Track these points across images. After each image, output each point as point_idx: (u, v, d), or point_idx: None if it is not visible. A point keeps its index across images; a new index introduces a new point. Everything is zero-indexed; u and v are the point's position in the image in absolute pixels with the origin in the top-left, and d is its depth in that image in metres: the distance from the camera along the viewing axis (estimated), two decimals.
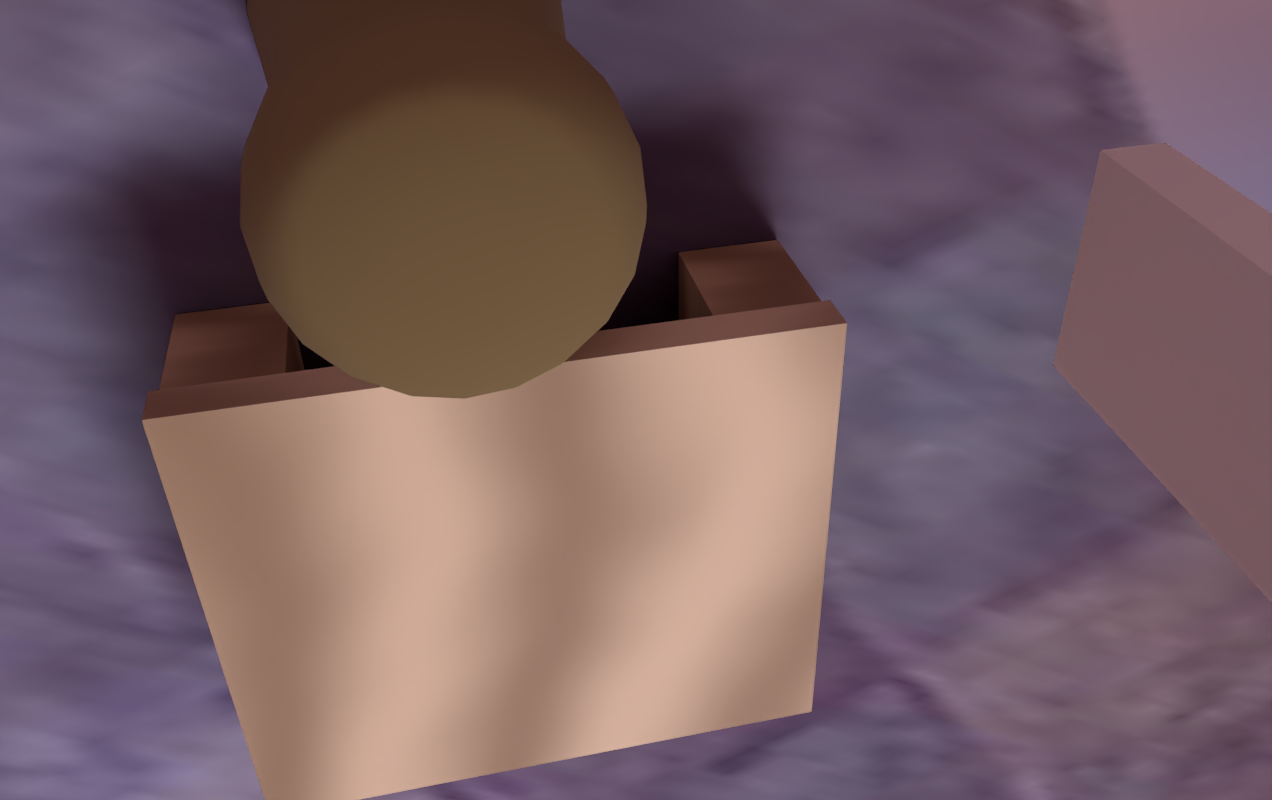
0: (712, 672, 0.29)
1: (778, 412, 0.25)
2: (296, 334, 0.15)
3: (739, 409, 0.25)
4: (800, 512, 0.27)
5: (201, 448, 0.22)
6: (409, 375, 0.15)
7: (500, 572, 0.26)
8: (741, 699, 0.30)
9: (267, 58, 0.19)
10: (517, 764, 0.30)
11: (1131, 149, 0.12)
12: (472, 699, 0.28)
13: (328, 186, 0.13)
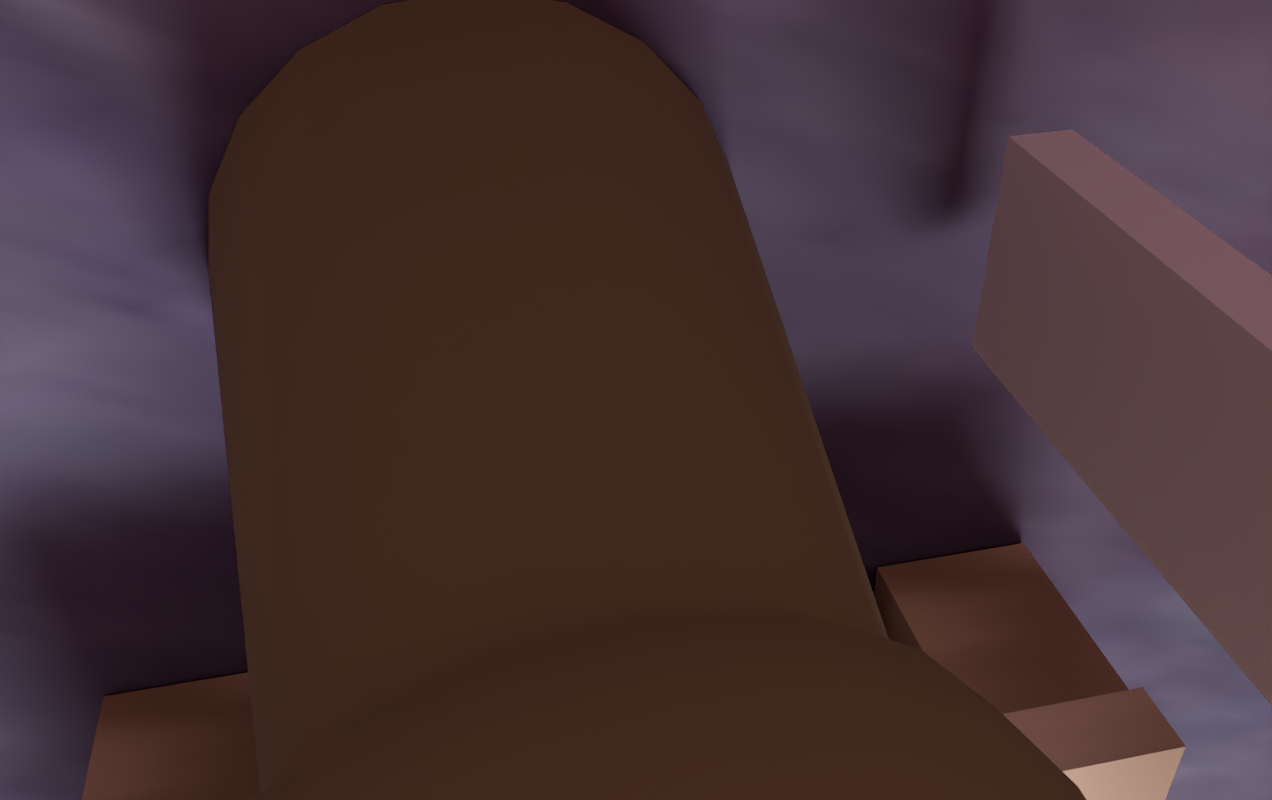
0: None
1: None
2: None
3: None
4: None
5: None
6: None
7: None
8: None
9: (231, 463, 0.09)
10: None
11: (1038, 134, 0.13)
12: None
13: None
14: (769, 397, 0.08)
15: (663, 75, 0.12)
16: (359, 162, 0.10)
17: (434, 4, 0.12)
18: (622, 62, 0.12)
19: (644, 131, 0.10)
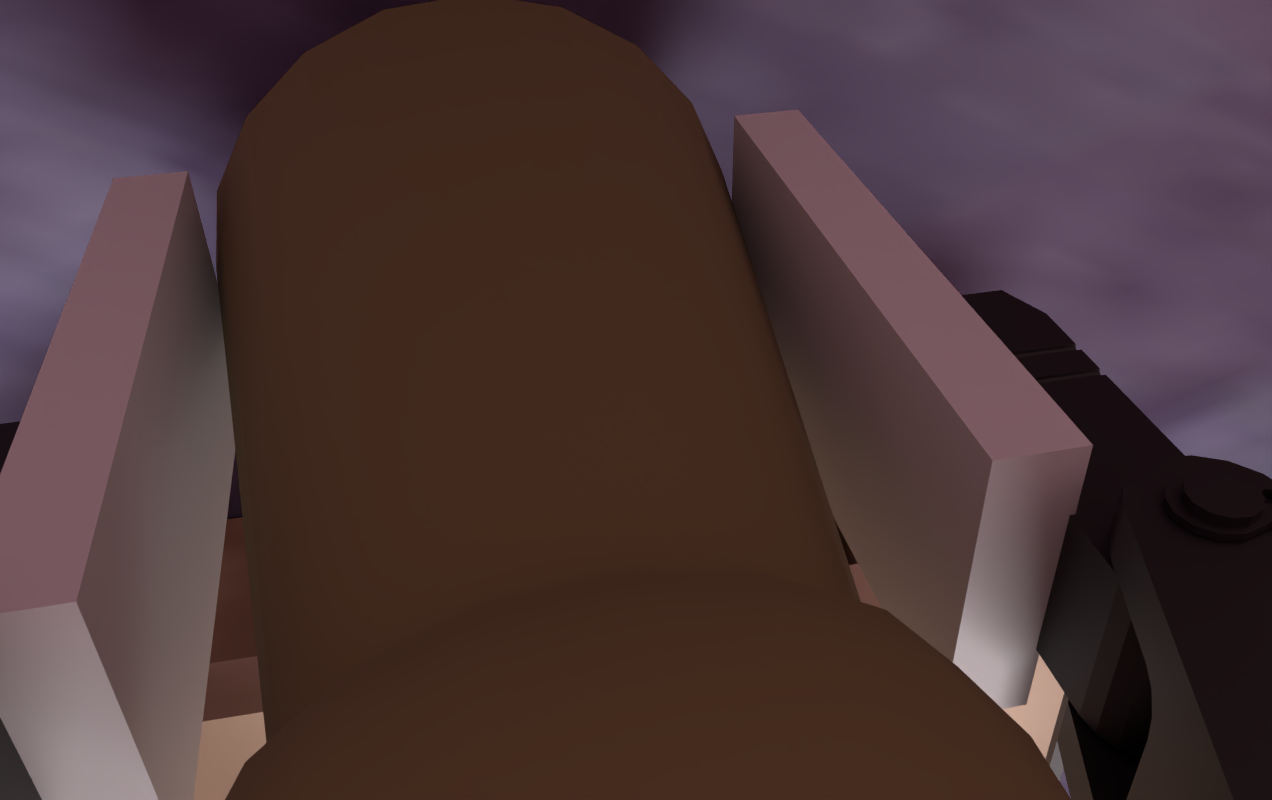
0: None
1: None
2: None
3: None
4: None
5: None
6: None
7: None
8: None
9: (239, 447, 0.10)
10: None
11: (762, 115, 0.13)
12: None
13: None
14: (750, 381, 0.09)
15: (655, 77, 0.13)
16: (361, 160, 0.10)
17: (434, 9, 0.12)
18: (615, 65, 0.12)
19: (636, 132, 0.11)
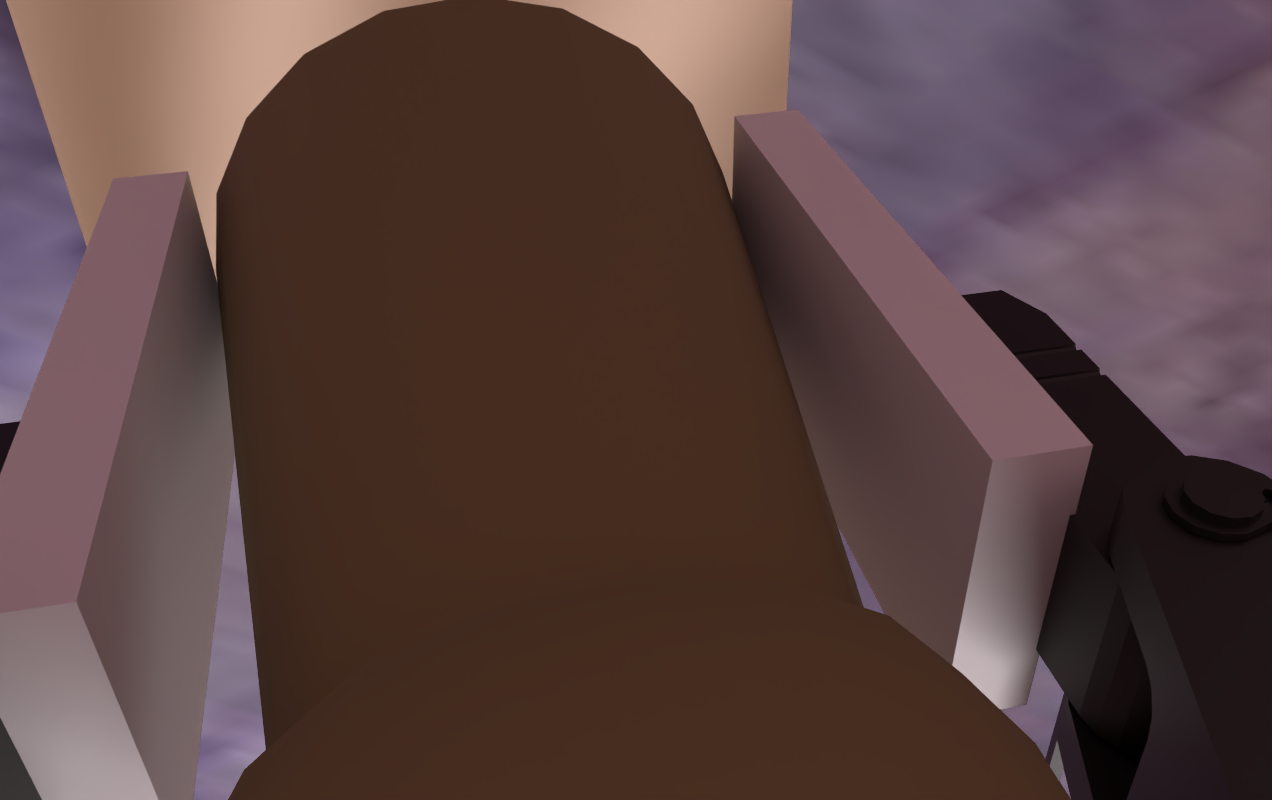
0: None
1: None
2: None
3: None
4: None
5: None
6: None
7: None
8: None
9: (239, 450, 0.10)
10: None
11: (762, 114, 0.13)
12: None
13: None
14: (752, 383, 0.09)
15: (656, 79, 0.13)
16: (362, 161, 0.10)
17: (434, 10, 0.12)
18: (616, 66, 0.12)
19: (636, 133, 0.11)
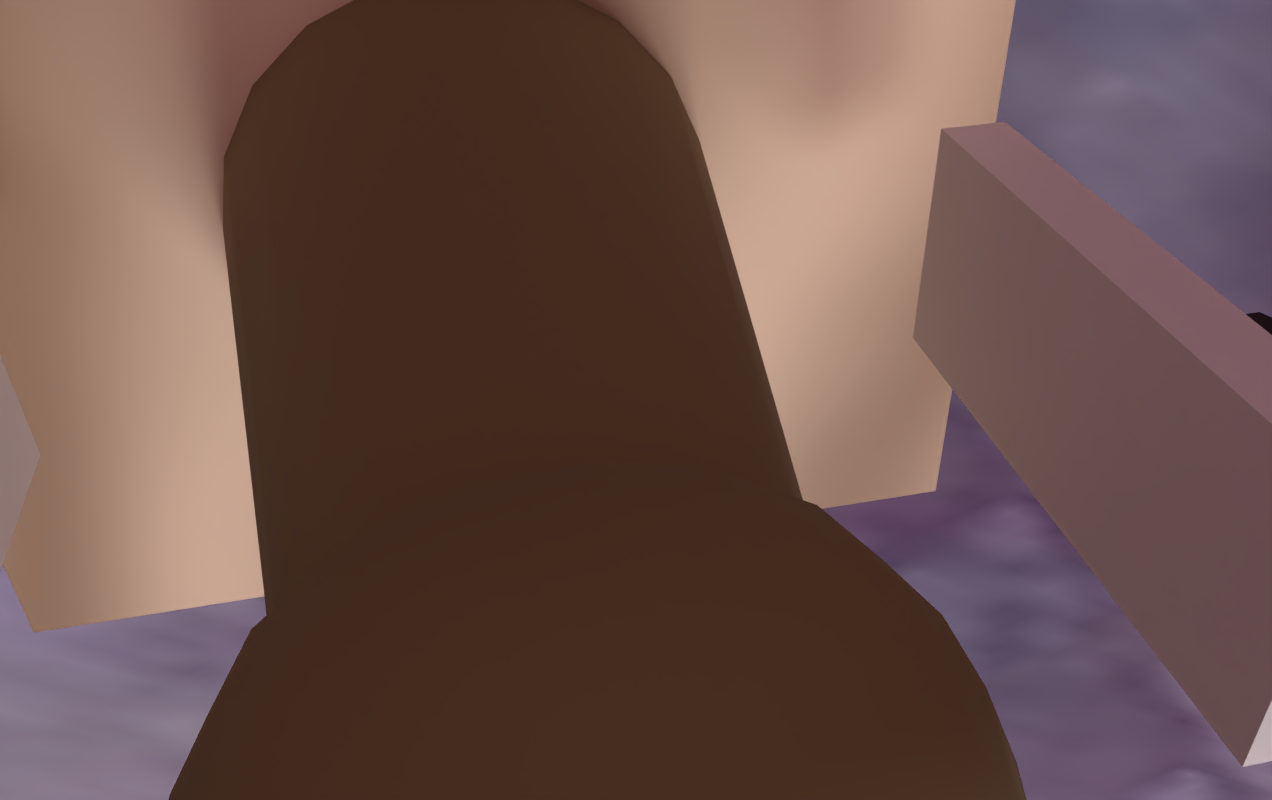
0: (781, 403, 0.17)
1: None
2: None
3: None
4: (951, 76, 0.15)
5: None
6: None
7: None
8: (826, 460, 0.18)
9: (245, 385, 0.11)
10: None
11: (970, 127, 0.13)
12: None
13: None
14: (712, 320, 0.09)
15: (635, 51, 0.13)
16: (358, 121, 0.11)
17: None
18: (597, 38, 0.13)
19: (614, 98, 0.12)
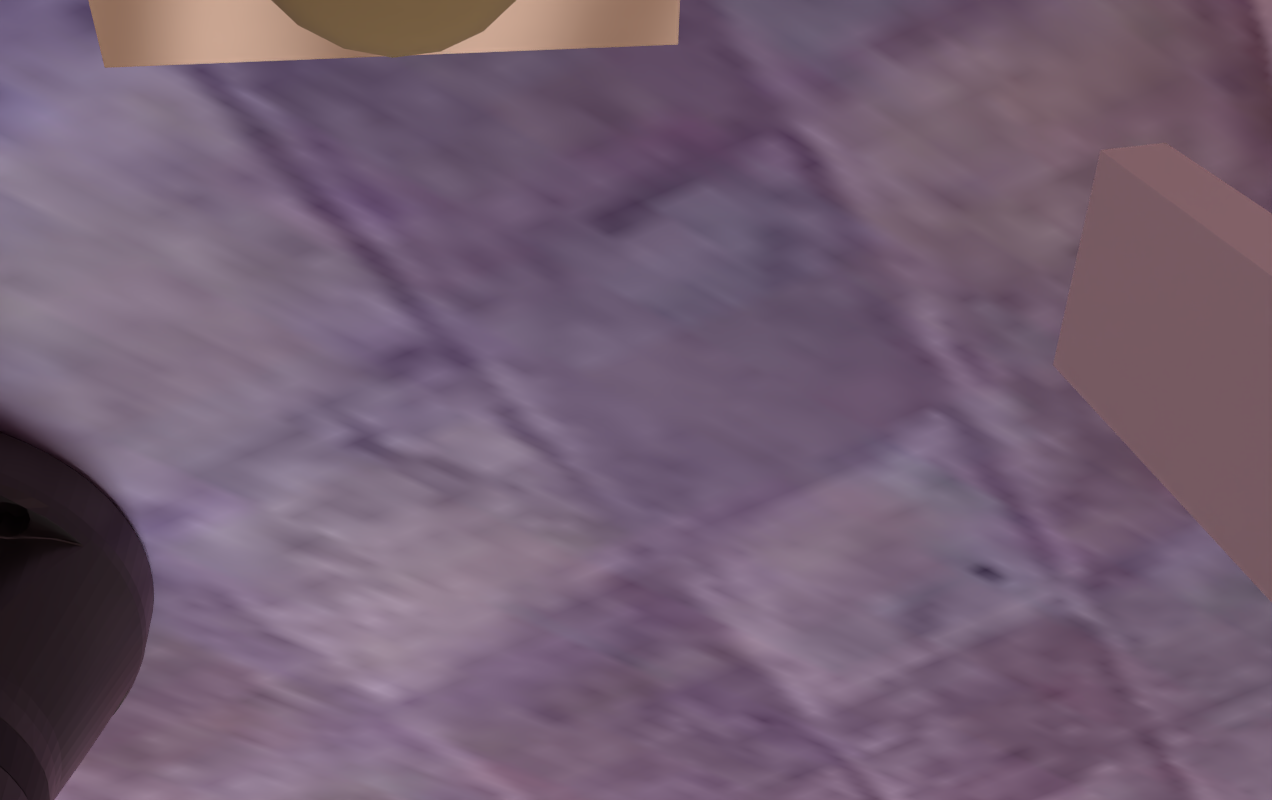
0: None
1: None
2: None
3: None
4: None
5: None
6: (346, 16, 0.18)
7: None
8: (603, 8, 0.29)
9: None
10: None
11: (1130, 149, 0.12)
12: None
13: None
14: None
15: None
16: None
17: None
18: None
19: None
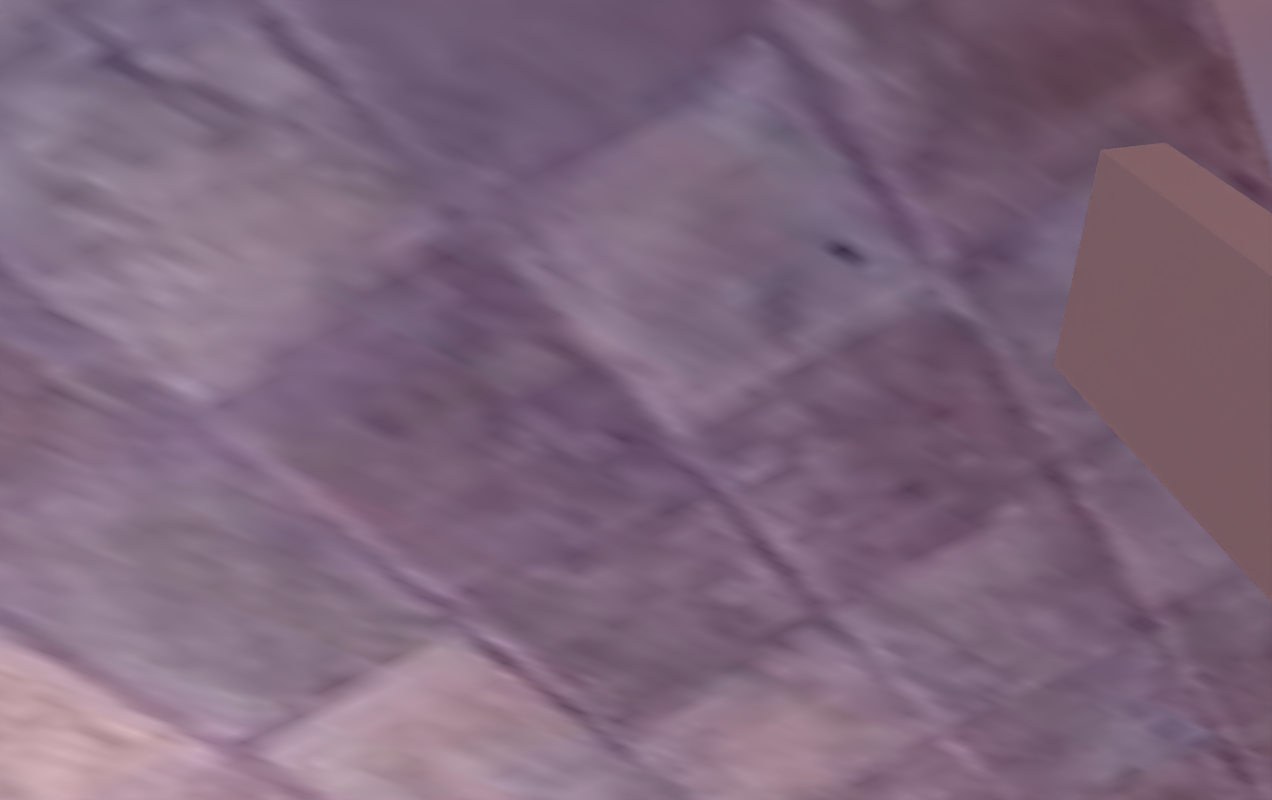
0: None
1: None
2: None
3: None
4: None
5: None
6: None
7: None
8: None
9: None
10: None
11: (1131, 149, 0.12)
12: None
13: None
14: None
15: None
16: None
17: None
18: None
19: None
